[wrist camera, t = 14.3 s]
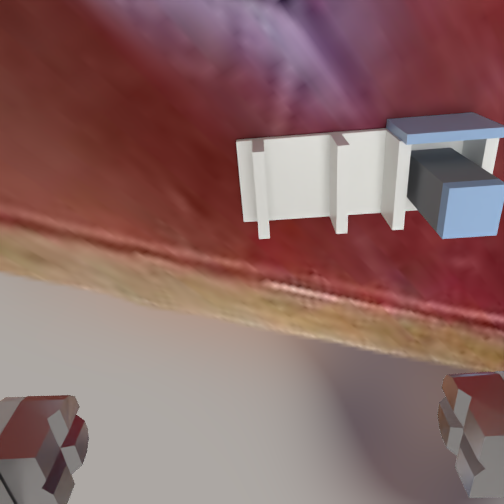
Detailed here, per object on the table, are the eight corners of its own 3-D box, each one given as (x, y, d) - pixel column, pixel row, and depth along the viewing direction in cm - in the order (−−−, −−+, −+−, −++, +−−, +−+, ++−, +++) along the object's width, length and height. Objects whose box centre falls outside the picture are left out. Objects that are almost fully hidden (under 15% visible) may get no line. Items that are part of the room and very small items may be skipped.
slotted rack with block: (243, 218, 44) (242, 246, 38) (235, 130, 39) (232, 148, 34) (475, 202, 43) (507, 228, 37) (492, 110, 38) (530, 125, 33)
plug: (402, 192, 41) (442, 238, 32) (406, 150, 39) (449, 188, 31) (444, 189, 41) (496, 235, 32) (450, 147, 39) (507, 184, 30)
